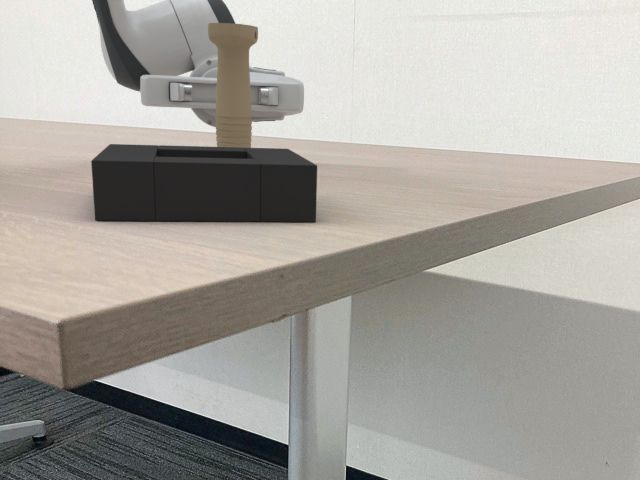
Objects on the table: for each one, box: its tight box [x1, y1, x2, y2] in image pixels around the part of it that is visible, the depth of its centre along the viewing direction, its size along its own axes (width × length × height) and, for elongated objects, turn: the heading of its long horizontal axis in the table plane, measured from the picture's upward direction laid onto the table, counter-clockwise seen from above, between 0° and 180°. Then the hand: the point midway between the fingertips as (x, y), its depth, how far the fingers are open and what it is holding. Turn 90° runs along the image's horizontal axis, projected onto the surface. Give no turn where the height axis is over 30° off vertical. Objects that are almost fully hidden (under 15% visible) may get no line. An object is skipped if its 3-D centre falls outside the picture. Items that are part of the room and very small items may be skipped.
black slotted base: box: [90, 143, 318, 223], centre depth 60 cm, size 15×15×4 cm
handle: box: [208, 23, 259, 148], centre depth 82 cm, size 5×6×15 cm
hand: (226, 94), depth 91 cm, fingers open, 8 cm apart
